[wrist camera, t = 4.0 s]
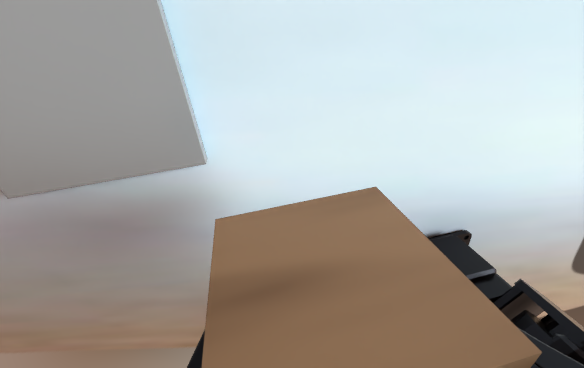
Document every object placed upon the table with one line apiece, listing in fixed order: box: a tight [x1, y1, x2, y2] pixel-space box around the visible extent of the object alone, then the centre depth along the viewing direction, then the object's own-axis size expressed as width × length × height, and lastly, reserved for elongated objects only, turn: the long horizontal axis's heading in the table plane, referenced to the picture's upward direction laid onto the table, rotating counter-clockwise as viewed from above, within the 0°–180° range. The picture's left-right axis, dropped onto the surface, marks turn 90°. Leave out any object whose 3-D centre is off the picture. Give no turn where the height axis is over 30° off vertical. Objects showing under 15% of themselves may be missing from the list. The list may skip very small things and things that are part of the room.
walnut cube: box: [202, 187, 542, 368], centre depth 7 cm, size 6×6×6 cm
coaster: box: [0, 0, 207, 199], centre depth 11 cm, size 10×10×1 cm
